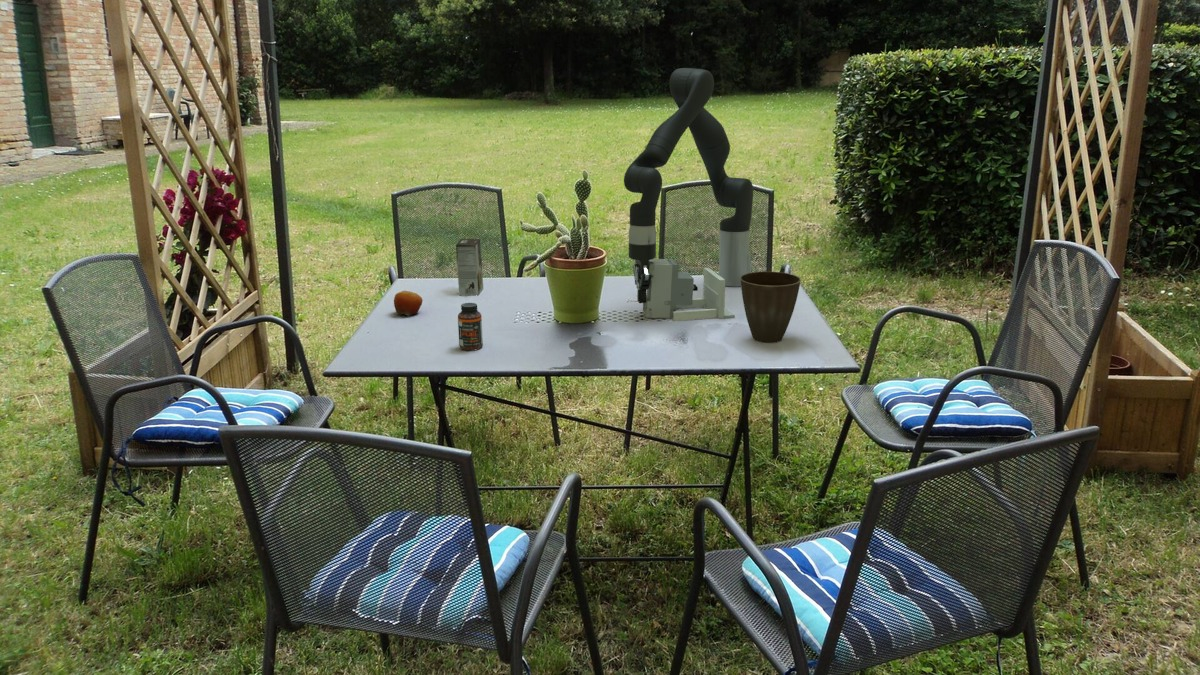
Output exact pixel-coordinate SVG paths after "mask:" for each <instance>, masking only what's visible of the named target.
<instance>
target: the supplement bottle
mask: <svg viewBox="0 0 1200 675" xmlns="http://www.w3.org/2000/svg"><path fill="white" fill-rule="evenodd" d="M460 309H461V311H460V312H459V313H458V314H457V326H458V327H457V328H458V344H459V348H460V349H462V350H463V349H464V350H463V351H476V350H475V349H477V350H479V349H482V348H483V345H484V343H483V342H484V340H483V339H484V338H483V323H482V322H483V321H482V320H483V319H482V313H481V312H480V311H479V310H478V304H477V303H476V302H465V303H462V304H461V305H460Z"/></svg>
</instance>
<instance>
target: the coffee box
mask: <svg viewBox="0 0 1200 675" xmlns="http://www.w3.org/2000/svg"><path fill="white" fill-rule="evenodd" d="M481 245H482V244H481V238H460V239H459V240H458V242H457V243H456V244H455V249H456V250H455V252H456V262H457V263H456V264H457V265H456V266H457V280H458V282H457V283H458V284H457V285H458V295H459V297H461V296H462V297H464V296H466V297H467V296H470V297H471V296H475V297H478V295H479V296H480V294H481V293H482V292H483V290H484V279H483V278H484V277H483V276H484V275H483V262H482V261H483V260H482V258H483V257H482V246H481ZM476 295H477V296H476Z"/></svg>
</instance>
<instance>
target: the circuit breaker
mask: <svg viewBox="0 0 1200 675" xmlns="http://www.w3.org/2000/svg"><path fill="white" fill-rule="evenodd" d="M648 274H651V275H652V277H651V281H650V285H649V289H647V290H646V303H642V312H643V313H644V315H645V318H647V319H648V318H652V319H673V311H677V309H676V305H692V299H694V298H693V297H694V296H693V295H694V294H693V293H694V292H698V286H697V284H694V282H695V281H694V278H693V277H692V275H691V274H690V273H689V272H688V271H686V272H684V271H682V272H681V271H679V264H678V263H677V261H675V259H673V258H654V259H650V260H649V273H648Z"/></svg>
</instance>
